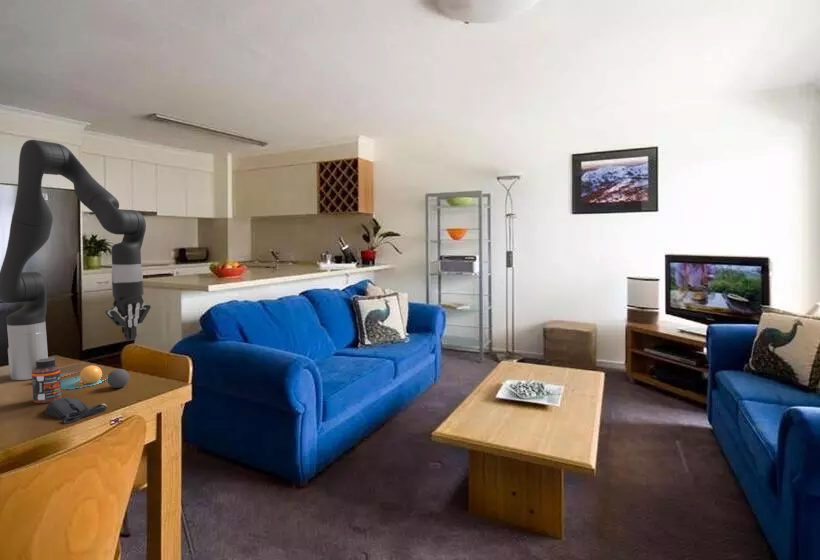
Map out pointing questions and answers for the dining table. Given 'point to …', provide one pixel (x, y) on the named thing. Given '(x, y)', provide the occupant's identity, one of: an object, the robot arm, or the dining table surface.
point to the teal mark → (70, 383)
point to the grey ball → (118, 378)
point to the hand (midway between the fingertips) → (130, 339)
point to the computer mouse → (72, 409)
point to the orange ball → (91, 374)
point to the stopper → (69, 369)
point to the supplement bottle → (46, 381)
